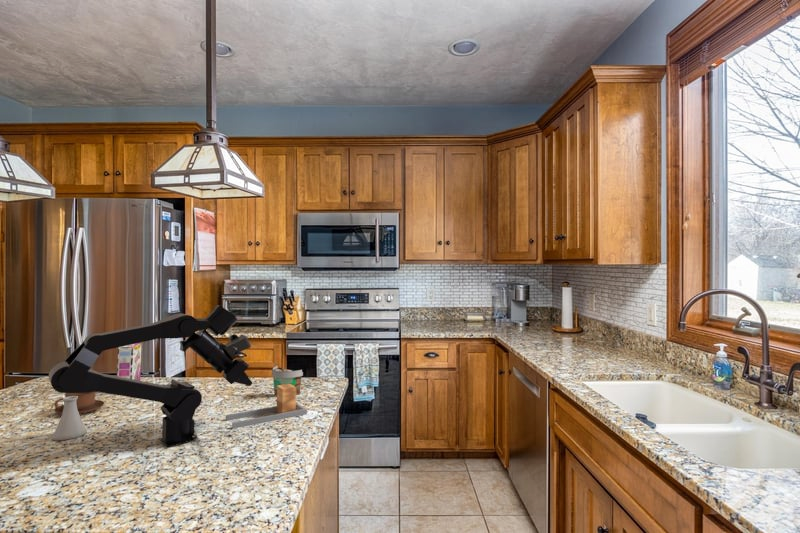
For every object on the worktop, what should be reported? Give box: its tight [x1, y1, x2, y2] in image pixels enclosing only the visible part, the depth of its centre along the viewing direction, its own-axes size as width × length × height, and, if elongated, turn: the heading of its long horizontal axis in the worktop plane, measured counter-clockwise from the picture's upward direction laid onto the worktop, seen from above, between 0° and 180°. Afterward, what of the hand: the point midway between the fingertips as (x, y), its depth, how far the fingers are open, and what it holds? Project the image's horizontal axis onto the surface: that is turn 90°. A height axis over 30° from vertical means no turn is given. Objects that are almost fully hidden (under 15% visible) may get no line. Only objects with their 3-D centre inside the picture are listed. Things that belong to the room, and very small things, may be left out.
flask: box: [51, 396, 87, 441], centre depth 109 cm, size 7×7×10 cm
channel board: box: [225, 402, 308, 430], centre depth 121 cm, size 21×9×3 cm, turn 125°
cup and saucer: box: [54, 392, 105, 416], centre depth 128 cm, size 12×12×6 cm
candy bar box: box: [116, 342, 143, 381], centre depth 152 cm, size 11×5×16 cm, turn 17°
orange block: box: [276, 384, 297, 414], centre depth 124 cm, size 4×5×8 cm
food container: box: [270, 365, 304, 396], centre depth 144 cm, size 12×6×10 cm, turn 62°
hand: (250, 384), depth 118 cm, fingers closed
